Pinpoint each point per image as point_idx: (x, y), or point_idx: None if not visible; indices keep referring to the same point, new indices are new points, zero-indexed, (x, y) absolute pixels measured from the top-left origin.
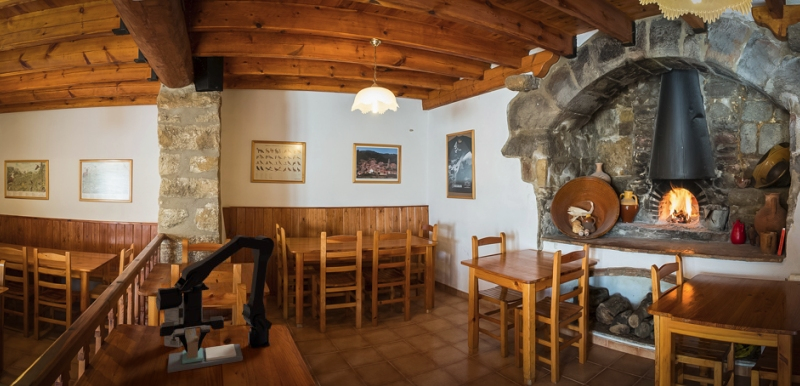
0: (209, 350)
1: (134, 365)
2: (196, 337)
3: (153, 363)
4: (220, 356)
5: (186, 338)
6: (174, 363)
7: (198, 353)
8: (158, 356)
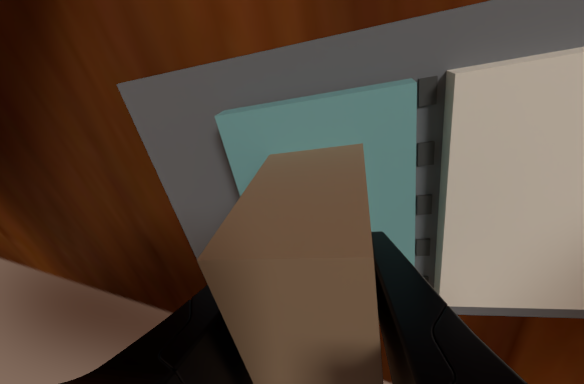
0: (490, 161)
1: (4, 154)
2: (357, 330)
3: (90, 156)
4: (561, 306)
5: (208, 332)
6: None
7: (375, 227)
8: (40, 29)
